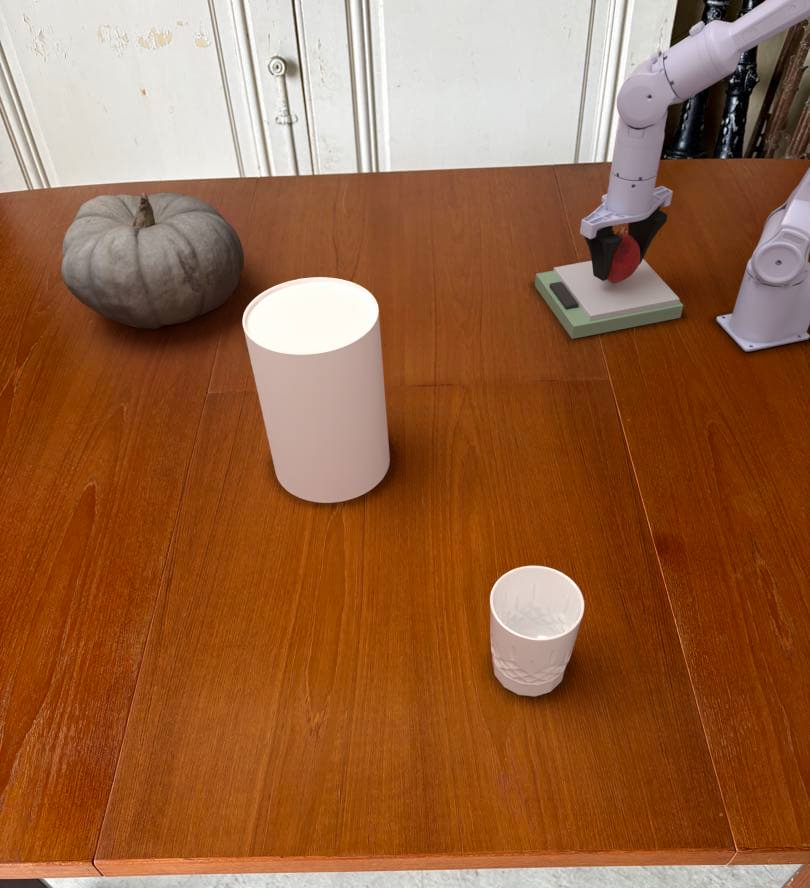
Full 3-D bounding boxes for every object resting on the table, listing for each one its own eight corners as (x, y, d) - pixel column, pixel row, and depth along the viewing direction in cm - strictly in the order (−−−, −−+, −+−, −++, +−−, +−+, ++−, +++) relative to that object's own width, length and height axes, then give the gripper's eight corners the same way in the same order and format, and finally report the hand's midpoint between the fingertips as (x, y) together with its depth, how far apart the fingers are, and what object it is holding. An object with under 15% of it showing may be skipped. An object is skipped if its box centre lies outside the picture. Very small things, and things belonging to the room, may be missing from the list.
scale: (635, 267, 121) (638, 249, 119) (680, 317, 112) (684, 300, 110) (534, 286, 119) (536, 268, 117) (572, 339, 110) (574, 321, 108)
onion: (634, 295, 111) (645, 240, 105) (592, 292, 112) (600, 237, 106) (635, 273, 115) (645, 218, 109) (594, 270, 116) (602, 216, 110)
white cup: (480, 635, 79) (483, 569, 71) (561, 627, 79) (572, 561, 71) (493, 706, 73) (498, 644, 66) (579, 698, 74) (594, 635, 66)
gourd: (121, 366, 105) (79, 229, 95) (51, 317, 121) (8, 195, 111) (282, 309, 117) (261, 182, 107) (199, 271, 133) (173, 157, 123)
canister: (301, 518, 90) (271, 370, 75) (258, 447, 98) (223, 301, 83) (409, 476, 94) (402, 327, 79) (359, 410, 102) (344, 264, 87)
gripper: (651, 144, 107) (633, 241, 117) (569, 176, 102) (557, 274, 112) (692, 162, 103) (670, 261, 113) (609, 197, 98) (593, 297, 108)
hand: (617, 269), depth 112 cm, fingers closed on onion, 6 cm apart
